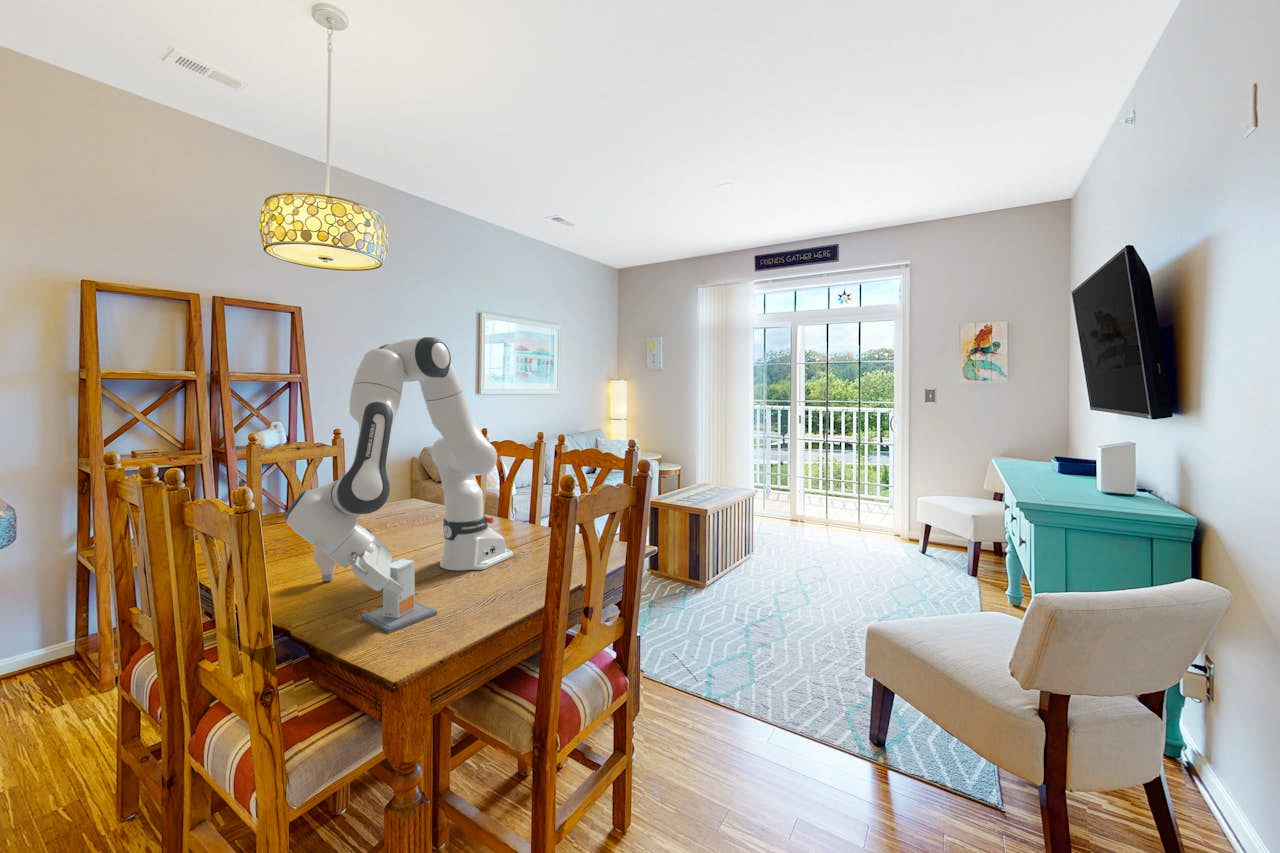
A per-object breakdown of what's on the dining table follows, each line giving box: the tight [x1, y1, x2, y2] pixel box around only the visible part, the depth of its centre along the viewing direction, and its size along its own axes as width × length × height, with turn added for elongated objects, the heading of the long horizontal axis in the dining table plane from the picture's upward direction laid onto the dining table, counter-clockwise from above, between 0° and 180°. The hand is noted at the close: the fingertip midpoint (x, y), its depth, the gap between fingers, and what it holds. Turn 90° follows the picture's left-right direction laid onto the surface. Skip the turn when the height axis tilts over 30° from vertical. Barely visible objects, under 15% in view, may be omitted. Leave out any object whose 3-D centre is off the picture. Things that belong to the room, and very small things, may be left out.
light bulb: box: [312, 546, 338, 582], centre depth 144 cm, size 7×7×11 cm
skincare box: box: [382, 558, 416, 619], centre depth 123 cm, size 6×4×12 cm
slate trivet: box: [360, 600, 438, 634], centre depth 124 cm, size 12×12×1 cm
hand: (402, 583), depth 123 cm, fingers open, 8 cm apart
